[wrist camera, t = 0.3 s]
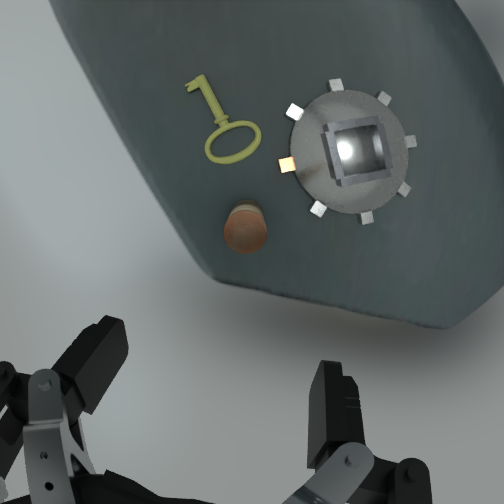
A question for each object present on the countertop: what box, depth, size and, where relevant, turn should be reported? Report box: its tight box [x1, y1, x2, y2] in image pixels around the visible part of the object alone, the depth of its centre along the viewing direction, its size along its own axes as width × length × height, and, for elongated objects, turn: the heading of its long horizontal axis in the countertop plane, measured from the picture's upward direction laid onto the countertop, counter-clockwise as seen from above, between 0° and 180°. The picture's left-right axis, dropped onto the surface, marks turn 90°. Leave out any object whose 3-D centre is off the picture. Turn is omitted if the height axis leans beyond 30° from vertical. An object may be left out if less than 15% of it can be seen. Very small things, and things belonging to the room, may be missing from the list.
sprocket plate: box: [278, 79, 417, 225], centre depth 33 cm, size 19×19×4 cm
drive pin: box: [224, 199, 267, 254], centre depth 33 cm, size 4×4×10 cm
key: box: [185, 75, 262, 164], centre depth 34 cm, size 7×12×2 cm, turn 44°
